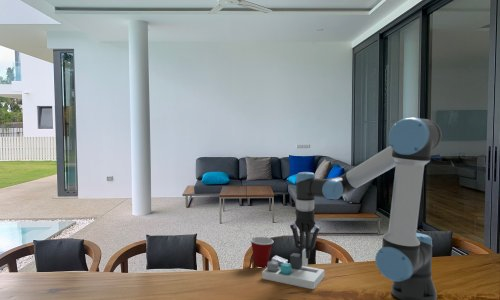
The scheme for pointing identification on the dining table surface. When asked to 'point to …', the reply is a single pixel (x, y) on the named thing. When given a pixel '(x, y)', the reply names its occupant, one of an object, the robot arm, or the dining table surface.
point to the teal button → (285, 269)
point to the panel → (297, 276)
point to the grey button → (272, 266)
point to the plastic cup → (261, 250)
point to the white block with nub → (279, 260)
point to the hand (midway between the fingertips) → (304, 265)
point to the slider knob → (296, 261)
